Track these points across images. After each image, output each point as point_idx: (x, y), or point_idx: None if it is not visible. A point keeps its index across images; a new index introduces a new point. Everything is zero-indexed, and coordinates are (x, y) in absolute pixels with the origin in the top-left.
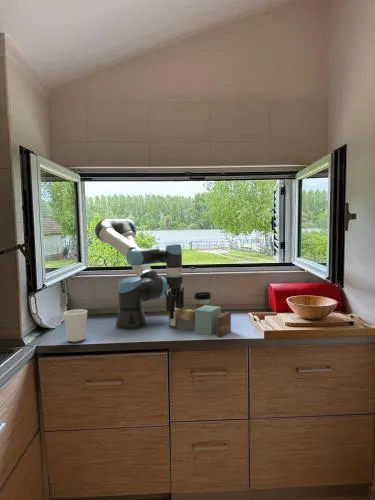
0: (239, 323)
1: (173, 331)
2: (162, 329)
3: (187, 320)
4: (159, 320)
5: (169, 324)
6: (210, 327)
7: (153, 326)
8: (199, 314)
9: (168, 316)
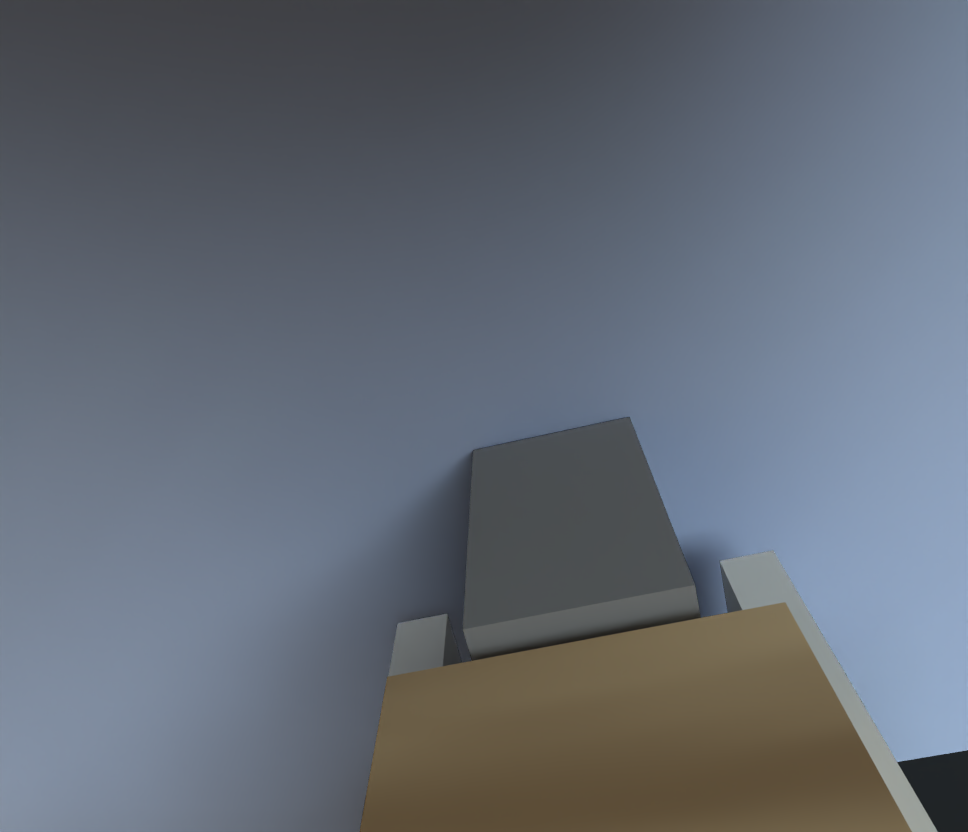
0: None
1: (265, 810)
2: (146, 509)
3: None
4: None
5: (478, 495)
6: None
7: (92, 8)
8: None
9: (386, 723)
